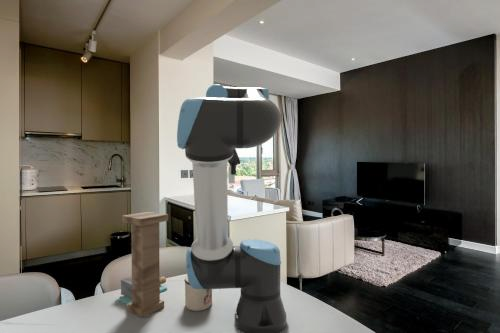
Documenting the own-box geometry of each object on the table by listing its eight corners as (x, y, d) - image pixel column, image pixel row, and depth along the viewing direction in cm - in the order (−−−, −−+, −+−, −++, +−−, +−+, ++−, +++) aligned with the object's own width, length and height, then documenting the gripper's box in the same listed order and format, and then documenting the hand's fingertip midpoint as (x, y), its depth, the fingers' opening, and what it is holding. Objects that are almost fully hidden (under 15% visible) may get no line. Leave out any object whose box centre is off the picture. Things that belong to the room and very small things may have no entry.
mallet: (157, 280, 116) (157, 267, 116) (170, 285, 111) (170, 272, 111) (121, 294, 104) (120, 279, 104) (133, 300, 99) (133, 285, 99)
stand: (168, 306, 96) (168, 214, 96) (141, 320, 88) (140, 219, 88) (149, 298, 102) (149, 211, 102) (122, 310, 94) (121, 215, 94)
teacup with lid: (209, 312, 93) (209, 275, 93) (180, 311, 94) (180, 274, 93) (216, 295, 105) (216, 262, 105) (191, 294, 106) (191, 261, 105)
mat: (166, 289, 109) (166, 287, 109) (129, 305, 97) (129, 303, 97) (156, 285, 113) (156, 283, 113) (119, 300, 101) (119, 298, 100)
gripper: (249, 127, 112) (249, 183, 112) (202, 131, 126) (202, 181, 127) (237, 125, 106) (237, 184, 106) (188, 129, 120) (189, 181, 121)
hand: (218, 182), depth 116 cm, fingers open, 13 cm apart
